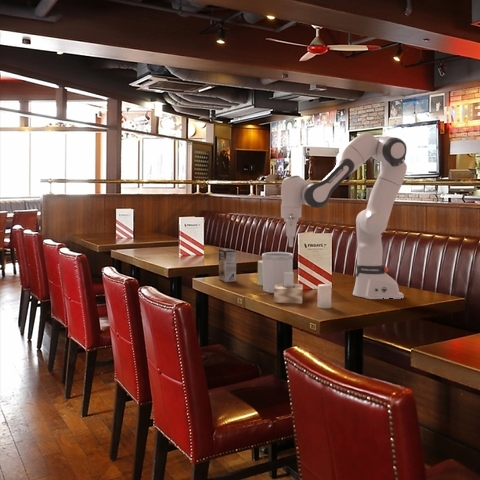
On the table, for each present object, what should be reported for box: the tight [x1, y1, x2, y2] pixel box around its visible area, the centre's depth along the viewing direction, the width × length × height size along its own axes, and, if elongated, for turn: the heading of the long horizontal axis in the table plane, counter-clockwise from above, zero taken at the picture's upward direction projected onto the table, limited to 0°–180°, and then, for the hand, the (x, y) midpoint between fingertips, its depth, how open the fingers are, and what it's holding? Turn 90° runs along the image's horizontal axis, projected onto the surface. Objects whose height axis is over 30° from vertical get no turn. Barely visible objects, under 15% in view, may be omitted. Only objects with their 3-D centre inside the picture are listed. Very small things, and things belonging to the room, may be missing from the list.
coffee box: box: [218, 248, 237, 283], centre depth 285 cm, size 9×6×16 cm
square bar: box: [284, 272, 295, 288], centre depth 239 cm, size 4×4×12 cm
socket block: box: [273, 283, 304, 304], centre depth 239 cm, size 12×12×6 cm
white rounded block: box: [316, 283, 332, 309], centre depth 226 cm, size 6×6×9 cm
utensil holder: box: [261, 251, 294, 294], centre depth 259 cm, size 15×15×18 cm
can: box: [256, 259, 263, 287], centre depth 275 cm, size 9×9×12 cm
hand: (291, 245), depth 238 cm, fingers open, 8 cm apart
